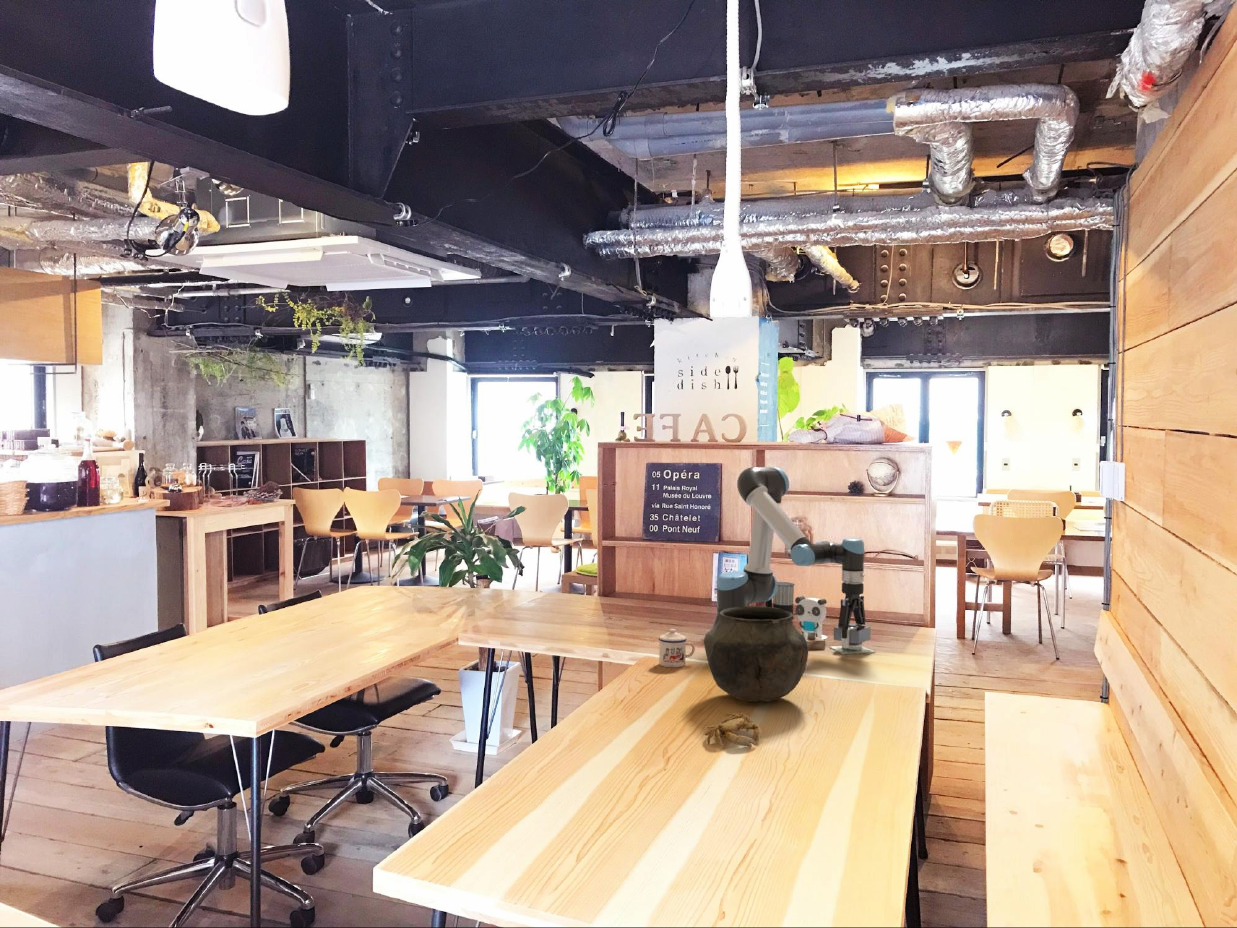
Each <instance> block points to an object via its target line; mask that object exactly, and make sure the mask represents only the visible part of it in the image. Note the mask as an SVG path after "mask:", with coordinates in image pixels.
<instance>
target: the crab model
mask: <svg viewBox="0 0 1237 928" xmlns="http://www.w3.org/2000/svg"><path fill="white" fill-rule="evenodd" d="M729 716H731V717H729ZM723 717H729V718H727V719H725V720H723V721H721V723H717V724H715V725H710V726H708V725H706V726H705V727H706V729H709V730H707V731H706V732H705V733H704V737H705V736H707V740H706V741H707V745H710V744H711V739H712V737H713V735H714V737H716V738H717V742H718V743H719V746H721V747H722V749H723V750H725V749H726V747H725V745H724V744H723V742H722V738H721V737H722V736H725V737H726V738H727V739H728V740H729V741H730V742H732V743H734V744H735V745H737V746H743V747H748V748H752V747H753V745H754V746H756V744H758V742H759V741H760V738H761V736H762V729H761V726H760V725H759V724H758V723H753V721H752V718H750V716H748V715H747V714H745V713H743V712H741V713H740V714H739V713H734V712H731V713H727V714H724V715H723ZM745 721H746V722H745ZM740 730H745V732H746V733H748V732H749V731H750V730H752V731H753V734H752V738H751V737H749V736H745V735H737V734H735V733H734V732H737V731H740Z"/></svg>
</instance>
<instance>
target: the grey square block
mask: <svg viewBox="0 0 1237 928" xmlns="http://www.w3.org/2000/svg"><path fill="white" fill-rule="evenodd" d="M854 624H855V623H849V627H856V629H853V628H848V629H850V634H849V642H851V643H857V644H859V643H862V644H863V643H864V642H868V641H869V640H871V631H872V630H871V626H868V625H862V626H861V625H854ZM841 631H842V629H841V628H839V627H838V625H836V626H834V627H833V640H834V641H840V642H841Z"/></svg>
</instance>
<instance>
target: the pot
mask: <svg viewBox="0 0 1237 928" xmlns="http://www.w3.org/2000/svg"><path fill="white" fill-rule="evenodd" d="M793 617H794V613H793V614H792V613H790V612H788V611H785V610H782V609H778V608H773V606H772V607H766V606H761V605H751V606H748V605H747V606H746V607H734V608H728V609H724V610H722V611H721V612H720V614H719V621H718V623H717V624H716V625H715V626H714V627H713V628H712V627H711V629H710V630H709V631H707V632H706V634H705V636H704V638H703V639H704V641H703V643H704V651H705V655H706V660H707V665H708V667H709V671H710V673H711V676H712V678H713V680H714V682H715V684H716V685H717V687H718V688H720V689H721V690H722V691H724V693H727V694H729V695H730V696H731V697H733V698H736V699H737V700H741V701H744V702H745V701H746V702H754V703H763V702H770V701H771V702H772V701H775V700H777V699H781V698H783V697H787V696H788V695H789V694H790V693H791V692H792V691H793V690H794V689H795V688H797V686H798V685H799V682H800V681H801V679H802V677H803V676H804V672H805V671H806V667H807V663H808V658H809V650H808V646H807V642H806V639H805V637H804V635H802V632H801V631H799V630H798V629H797V627H796V626H795V625H794V622H793V619H792V618H793Z"/></svg>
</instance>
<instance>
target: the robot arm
mask: <svg viewBox="0 0 1237 928" xmlns="http://www.w3.org/2000/svg"><path fill="white" fill-rule="evenodd" d="M736 483H737V484H736V487H737V491H738V493H739V495H740V497H741V498H742V501H744V502H745V504H746V505H748V507H749V506H751V507H752V508H753V516H752V526H751V534H750V544H749V552H748V561H747V564H746V565H744V566H743V571H741V570H733V571H725V572H723V573H720V574H719V576H717V581H716V615H715V618H714V621H713V623H712V626H711V629H712V628H713V627H714V626H715V625H716V624H717V623H718V621H719V614H720V612H721V611H722V610H724V609H728V608H734V607H746V606H748V605H752V604H761V603H762V604H763V603H765V601H768V600H770V599H772V600H773V597H774V596H775V594H776V592H777V586H778V585H777V582H778V580H777V578H776V576H775V575H774V570H773V568H772V567H771V561H772V560H771V558H772V549H773V543H774V542H773V540H774V534H776V535H777V537H778V538H779V539H780V540H781V541H782V542H783V544H784V545H785V546H786V547H787V548H788V550H789V551H790V558H791V561H792V563H793V564H795V565H796V566H799V567H809V566H814V565H823V564H837V565H841V581H842V582H841V593H842V594H845V596H844V599H840V609H839V618H838V625H837V626H838V627H839V628H841V629H842V631H841V641H840V642H841V643H840V646H841V647H845V648H849V634H850V629H848V627H849V624H851V623H850V622H851V619H852V613H853V618H854V622H855V623H853V624H854V625H861V626H866V614H865V602H864V601H865V597H864V595H862V594H864V590H865V589H864V583H863V582H864V581H865V580H864V577H865V576H866V575H865V573H864V571H865V570H864V567H865V566H864V565H865V564H864V561H865V552H866V551H865V543H864V540H863V539H861V538H850V537H849V538H843V539H842V542H841V543H840V542H839V543H838V542H834V541H833V542H832V541H827V540H825V541H822V540H821V541H820V540H819V541H817V542H815V543H813V542H812V541H810V539H809V538H808V537H807V536H806V535H805V534H804V533H803V532H802V530H801V529H800V528H799V527H798V526H797V525H796V523H794V521H793V520H792V519H791V518H790V517H789V515H788V514H787V513H786V512H785V511H784V509H782V508H781V507H780V505H781V504H782V499H783V498H782V497H784V496H785V495H786V494H787V493H788V491H789V488H790V481H789V478H788V474H786V472H785V471H784V470H783V469H782V468H779V467H775V466H762V467H761V466H759V467H757V466H752V467H747V468H746V469H743V471H741V472H740V474H739V476H738V478H737V482H736Z"/></svg>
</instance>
